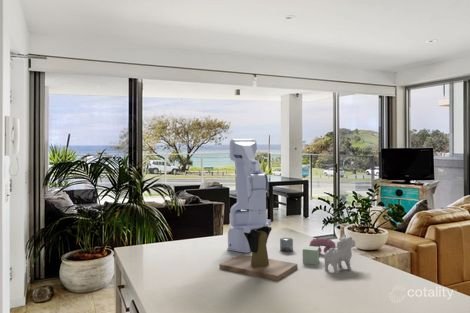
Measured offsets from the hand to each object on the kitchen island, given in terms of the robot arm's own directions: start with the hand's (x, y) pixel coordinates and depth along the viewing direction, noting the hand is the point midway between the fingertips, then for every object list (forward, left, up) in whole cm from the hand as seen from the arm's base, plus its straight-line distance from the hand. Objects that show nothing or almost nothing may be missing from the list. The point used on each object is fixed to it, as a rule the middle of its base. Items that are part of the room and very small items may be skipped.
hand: (258, 250), depth 125 cm
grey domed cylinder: (-2, +25, -6) cm, 26 cm away
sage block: (+12, +16, -6) cm, 21 cm away
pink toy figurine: (+12, +28, -6) cm, 31 cm away
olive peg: (0, 0, -5) cm, 5 cm away
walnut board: (0, 0, -6) cm, 6 cm away
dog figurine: (+23, +14, -6) cm, 28 cm away
